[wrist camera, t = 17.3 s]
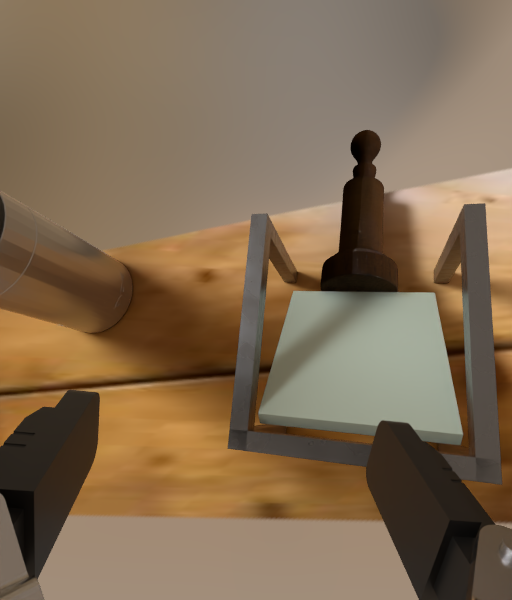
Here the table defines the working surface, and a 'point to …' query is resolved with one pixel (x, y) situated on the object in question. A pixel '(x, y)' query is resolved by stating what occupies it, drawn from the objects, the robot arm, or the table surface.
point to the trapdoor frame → (477, 338)
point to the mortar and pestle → (361, 229)
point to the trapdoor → (362, 366)
